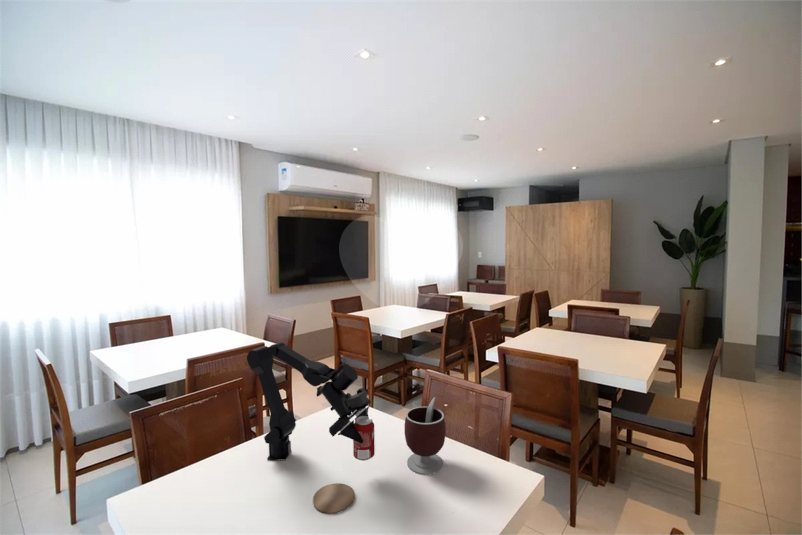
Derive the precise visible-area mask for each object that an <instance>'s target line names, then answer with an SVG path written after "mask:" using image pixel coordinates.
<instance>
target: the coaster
mask: <svg viewBox="0 0 802 535" xmlns="http://www.w3.org/2000/svg"><path fill="white" fill-rule="evenodd" d="M355 499H356V498H355V490H354V489H353V488H352V487H351V486H349V484H345V483H339V482H338V483H337V482H336V483H330V484H326V485H325V486H322V487H320V488H319V489H318V490H316V492H315V494H314V495H313V499H312V505H313V508H314V509H315V510H316V511H317V512H320V513H322V514H326V515H333V514H334V515H335V514H339V513H342V512H344V511H346V510H347V509H349V508H350V507H351V506H352V505H353V503H354V502H355Z"/></svg>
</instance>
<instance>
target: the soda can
mask: <svg viewBox="0 0 802 535" xmlns="http://www.w3.org/2000/svg"><path fill="white" fill-rule="evenodd" d="M355 418H356V417H355ZM355 418H354V427H355V428H356V430H357V431H358V433H359V434H360V436H361V437H362V439H363V441H364V442H363V443H362V444H361V443H359V442H356V441H354V440H352V443H353V444H352V446H353V447H352V449H353V452H352V453H353V457H354V458H355V459H356V460H358V461H369V460H371V459H372V458H373V457H374V456H375V451H376V450H375V445H376V444H375V422H374V421H373V418H372V417H371V416H369V415H368V416H360V417H358V418H356V419H355Z"/></svg>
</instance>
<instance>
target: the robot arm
mask: <svg viewBox="0 0 802 535" xmlns="http://www.w3.org/2000/svg"><path fill="white" fill-rule="evenodd" d="M274 357H275V358H277V359H278V360H279V361H282V362H284V364H286V365H287V366H289V367H291V368H293V369H294V370H296V371H297V372H298V373H299V374H301V375H302V378H303V379H304V380H305V382H306V383H308V384H309V385H310V386H312V387H314V388H315V387H317V388H316V397H317V398H318V397H319V396H321V395H323V397H324V398H325V399H326V400H327V402H328V403H329V404H330V406H331V407H330V411H331V412H333V411H335V412H336V413H337V415H338V416H339V417H338V419H337V420H335V422H334V423H332V425H331V426H330V427H329V428H328V433H329V434H330V435H331V436H332V437H335V435H338V436H343V437H345V438H348V439H351V440H352V441H353V440H354V441H356V442H359V443H361V444H362V443H363V442H364V441H363V439H362V437H361V436H360V434H359V433H358V431H357V430H356V428H355V427H354V423H355V419H356V418H358V417H360V416H369V414H368V413H369V409H370V406H369V405H370V404H371V403H372V401H371V400H370V398H369V397H368V395H369V393H368V392H367V390H366V389H365V388H364V387H360V388H359V389H357V391H356V393H354V394H353V395H352V394H351V393H349V392H347V393H346V392H345V391H346V390H347V389H348V388H349V387H350V386H352V385H353V383H355V381H357V380H358V378H359V374H358V373H357V370H356V369H355V368H353V367H352V366H350V365H347V364H346V363H345V362H343V363H342V364H340V365H339V366H338V368H337V369H336V368H332V367H330V366H328V365H327V364H325V363H322V362H319V361H313V360H310V359H308V358H307V357H305V356H304V355H301V354H300V353H298V352H296V351H295V350H294V349H292V348H290V347H289V346H287V345H286V344H285V343H284V342H281V341H279V342H276V343H274V344H272V345H269V346H267V345H262V346H260V347H257V348H254V349H251V350H249V352H248V353H247V356H246V361H247V363H248V366H249V367H250V369H251V371H252V372H254V374H256V375H257V376H258V380H259V382H260V387H261V388H262V391H263V394H264V398H265V401H266V404H267V407H268V411H269V412H270V416H269V423H268V425H269V431H268V433H267V434H266V435H265V436H264V437H263V438H264V442H265V444H267V445H268V457H267V458H266V459H267V460H268V461H286V460H287V458H288V456H289V455H290V454H291V452H292V444H291V443H292V441H291V440H290V435H292V434H293V431H295V428H296V427H297V426H296V425H297V424H296V422H297V419H296V416H295V414H294V411H293V410H288V409H287V408H286V407H285V405H284V401H283V399H282V395H281V393H280V392H281V391H280V389H279V386H278V384H277V383H278V382H277V380H276V377H275V375H274V371H273V366H274V361H275V360H274ZM322 384H323V385H322ZM353 417H355V418H354V419H352V418H353ZM351 419H352V421H351Z"/></svg>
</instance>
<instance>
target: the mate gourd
mask: <svg viewBox="0 0 802 535" xmlns="http://www.w3.org/2000/svg"><path fill="white" fill-rule="evenodd" d="M436 400H437V398H436V397H435V396H434V397H433V398H432V399H431V401H430V402H429V404H428V406H417V407H413V408H411V409H410V408H409V410H408V411H407V412H406V413H405V419H404V437H405V439H404V440H405V443H406V446H407V447H408V449H410V451H411V452H412V453H413V454H411V455H410V456H409V457H408V458H407V461H406V465H407V467H408V469H409V470H410V471H411V472H413V473H414V472H415V474H417V475H421V474H422V476H430V475H429V474H431V475H435V474H437V473H439V472H440V471H441V470H442V469H443V468H444V460H443V458H442V457H441V456H439V455H438V453H439V452H440V451H441V450H442V448H443V447H444V444H445V441H446V435H447V434H446V433H447V432H446V430H447V429H446V419H445V415H444V412H443V411H442V410H440V409H438V408H435V401H436ZM442 467H443V468H442ZM434 473H435V474H434Z"/></svg>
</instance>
